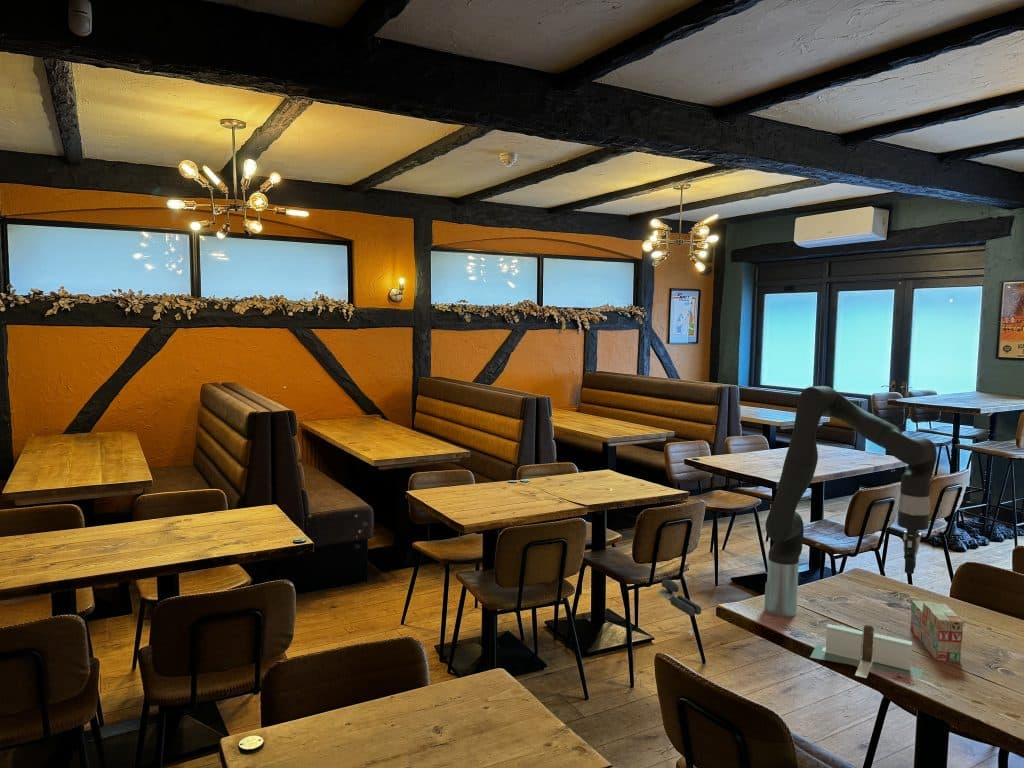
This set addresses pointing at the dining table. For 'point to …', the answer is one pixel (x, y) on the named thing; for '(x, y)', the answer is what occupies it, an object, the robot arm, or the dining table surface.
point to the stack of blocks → (937, 629)
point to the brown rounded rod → (867, 643)
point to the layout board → (860, 663)
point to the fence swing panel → (892, 651)
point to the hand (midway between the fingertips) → (909, 570)
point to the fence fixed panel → (844, 641)
